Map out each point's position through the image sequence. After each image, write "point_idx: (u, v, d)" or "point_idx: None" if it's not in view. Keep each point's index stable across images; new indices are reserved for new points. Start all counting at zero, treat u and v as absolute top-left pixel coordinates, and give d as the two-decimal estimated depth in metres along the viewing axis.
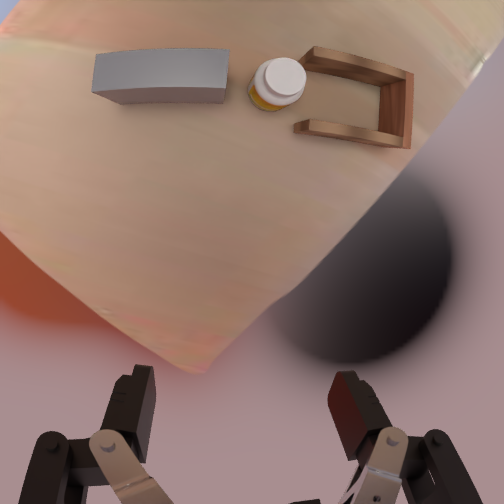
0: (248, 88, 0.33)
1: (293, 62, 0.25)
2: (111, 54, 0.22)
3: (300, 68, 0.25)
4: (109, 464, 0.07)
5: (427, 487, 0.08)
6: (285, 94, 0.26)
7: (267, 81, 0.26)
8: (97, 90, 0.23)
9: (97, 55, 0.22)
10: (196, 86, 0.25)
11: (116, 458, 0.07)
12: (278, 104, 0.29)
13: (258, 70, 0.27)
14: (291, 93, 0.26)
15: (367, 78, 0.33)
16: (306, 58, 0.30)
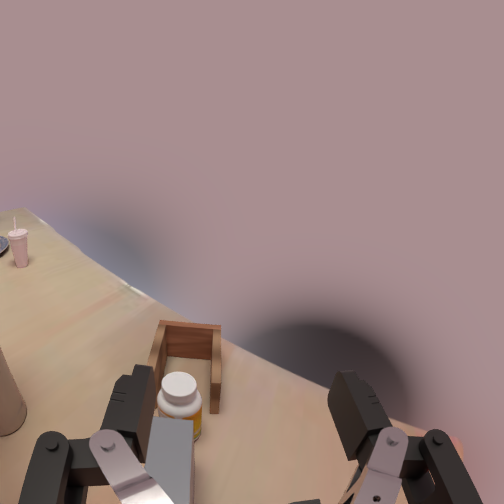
0: None
1: (166, 378, 0.32)
2: None
3: (171, 374, 0.33)
4: (109, 464, 0.07)
5: (427, 487, 0.08)
6: (196, 385, 0.32)
7: (185, 395, 0.30)
8: None
9: None
10: (191, 442, 0.24)
11: (116, 458, 0.07)
12: (201, 400, 0.33)
13: (169, 411, 0.30)
14: (194, 381, 0.32)
15: (163, 357, 0.45)
16: None
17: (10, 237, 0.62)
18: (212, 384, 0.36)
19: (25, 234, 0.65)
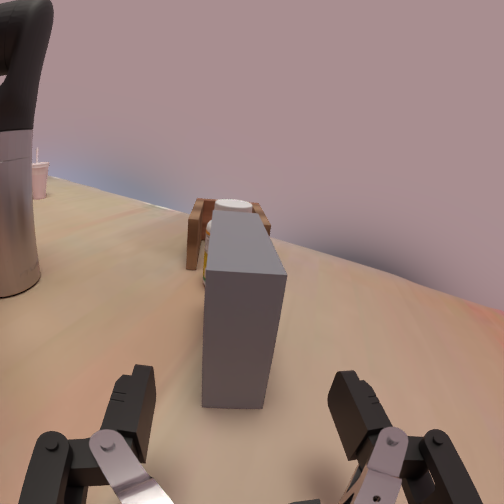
0: None
1: (219, 200, 0.33)
2: (211, 257, 0.16)
3: (224, 199, 0.34)
4: (109, 464, 0.07)
5: (427, 487, 0.08)
6: (251, 205, 0.33)
7: (242, 207, 0.31)
8: (283, 270, 0.16)
9: (209, 268, 0.15)
10: (261, 221, 0.25)
11: (116, 458, 0.07)
12: None
13: None
14: (249, 203, 0.33)
15: None
16: (193, 242, 0.37)
17: None
18: None
19: (47, 164, 0.66)
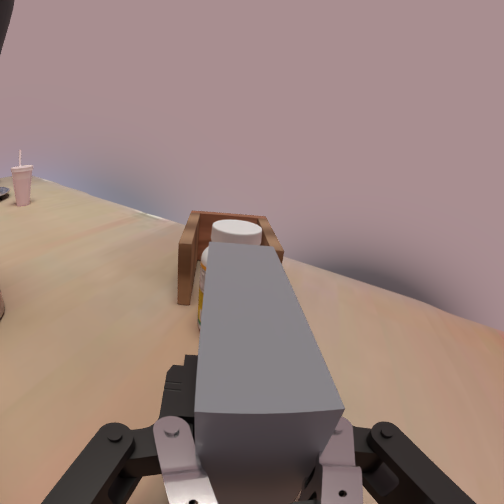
0: None
1: (218, 222, 0.25)
2: (204, 369, 0.08)
3: (224, 220, 0.26)
4: (177, 449, 0.08)
5: (387, 477, 0.08)
6: (261, 229, 0.25)
7: (249, 234, 0.23)
8: (335, 393, 0.08)
9: (200, 406, 0.07)
10: (279, 263, 0.17)
11: (176, 444, 0.08)
12: None
13: None
14: (258, 226, 0.25)
15: (196, 252, 0.38)
16: (185, 271, 0.29)
17: (13, 170, 0.55)
18: None
19: (30, 167, 0.58)
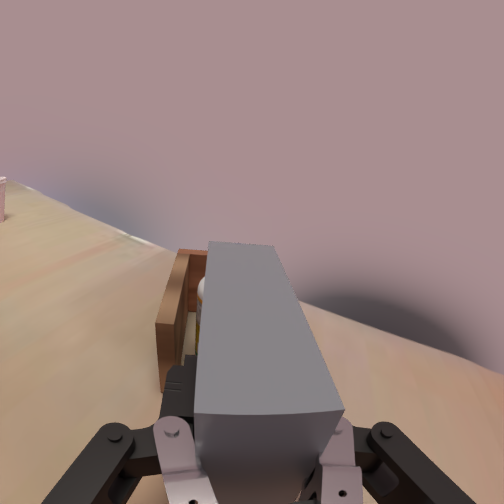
0: None
1: None
2: (204, 370, 0.08)
3: None
4: (177, 449, 0.08)
5: (387, 477, 0.08)
6: None
7: None
8: (335, 394, 0.08)
9: (199, 408, 0.07)
10: (279, 263, 0.17)
11: (175, 444, 0.08)
12: None
13: None
14: None
15: (185, 307, 0.28)
16: (168, 357, 0.19)
17: None
18: None
19: (3, 180, 0.48)
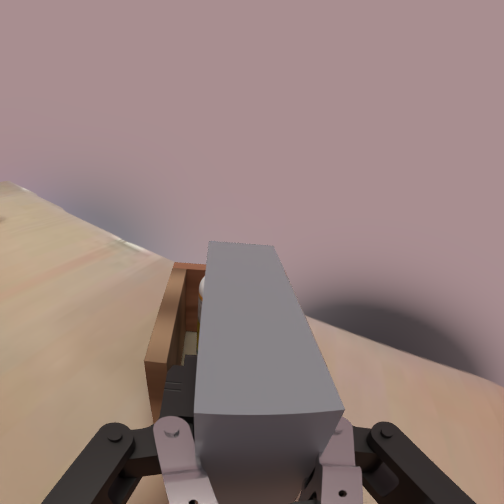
0: None
1: None
2: (204, 370, 0.08)
3: None
4: (177, 449, 0.08)
5: (387, 477, 0.08)
6: None
7: None
8: (335, 394, 0.08)
9: (199, 408, 0.07)
10: (279, 263, 0.17)
11: (176, 444, 0.08)
12: None
13: None
14: None
15: (182, 330, 0.24)
16: (161, 397, 0.16)
17: None
18: None
19: None
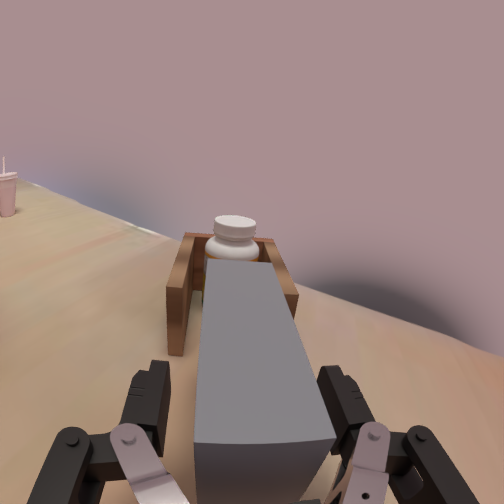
0: None
1: (219, 217, 0.30)
2: (203, 399, 0.08)
3: (225, 215, 0.31)
4: (131, 457, 0.07)
5: (414, 483, 0.08)
6: (255, 223, 0.30)
7: (245, 226, 0.28)
8: (328, 422, 0.08)
9: (199, 437, 0.07)
10: (277, 282, 0.17)
11: (135, 451, 0.07)
12: (258, 249, 0.31)
13: (223, 252, 0.28)
14: (253, 220, 0.30)
15: None
16: (176, 319, 0.23)
17: None
18: None
19: (14, 175, 0.52)
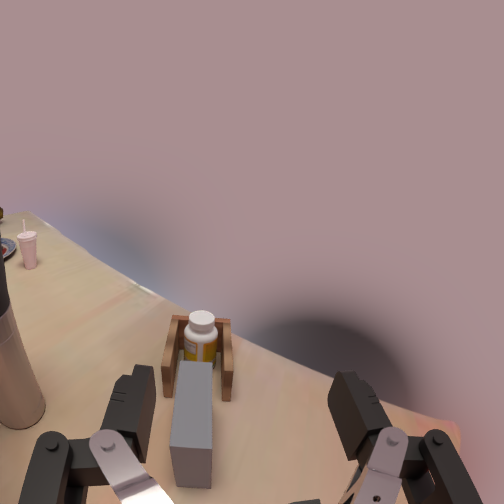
0: None
1: (192, 314, 0.47)
2: (173, 432, 0.25)
3: (196, 311, 0.47)
4: (109, 464, 0.07)
5: (427, 487, 0.08)
6: (214, 318, 0.47)
7: (206, 324, 0.45)
8: (211, 443, 0.25)
9: (171, 444, 0.24)
10: (211, 377, 0.34)
11: (116, 458, 0.07)
12: (217, 332, 0.47)
13: (194, 338, 0.45)
14: (213, 316, 0.47)
15: (176, 350, 0.48)
16: (167, 380, 0.40)
17: (20, 239, 0.65)
18: (225, 372, 0.40)
19: (34, 236, 0.68)
